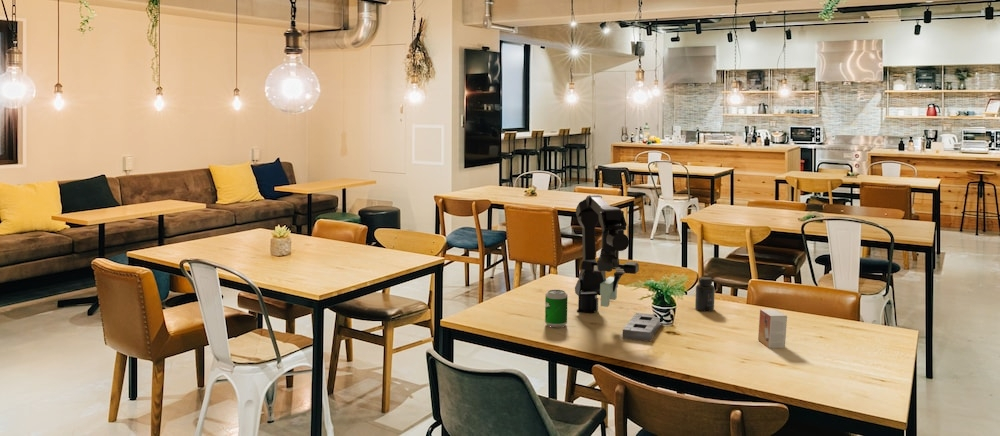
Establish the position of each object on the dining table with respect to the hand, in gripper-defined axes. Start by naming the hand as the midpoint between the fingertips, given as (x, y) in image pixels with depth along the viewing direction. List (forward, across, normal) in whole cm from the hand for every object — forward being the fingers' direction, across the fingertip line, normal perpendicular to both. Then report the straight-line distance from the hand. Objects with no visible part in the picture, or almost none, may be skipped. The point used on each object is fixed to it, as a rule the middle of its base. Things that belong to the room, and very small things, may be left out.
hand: (609, 291), depth 262 cm
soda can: (+13, -18, -3) cm, 22 cm away
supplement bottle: (+13, +27, +38) cm, 49 cm away
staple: (+4, 0, 0) cm, 4 cm away
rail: (+13, +11, +2) cm, 17 cm away
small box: (+13, +52, +4) cm, 54 cm away
